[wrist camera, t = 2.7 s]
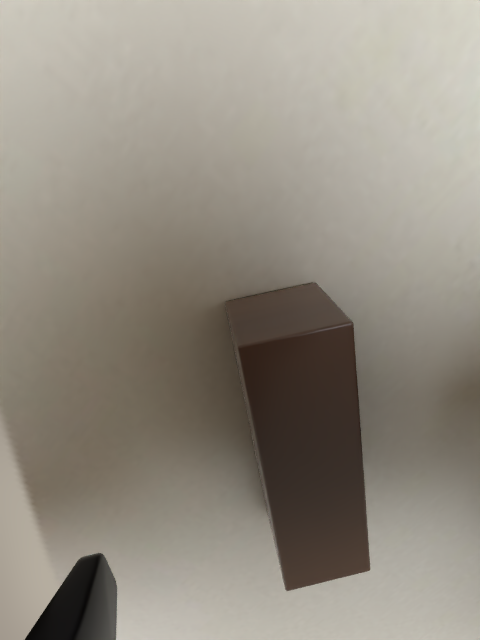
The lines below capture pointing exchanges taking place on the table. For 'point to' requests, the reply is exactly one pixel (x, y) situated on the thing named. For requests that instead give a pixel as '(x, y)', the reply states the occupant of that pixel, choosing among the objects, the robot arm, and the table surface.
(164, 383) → the table surface
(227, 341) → the table surface
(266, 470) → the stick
